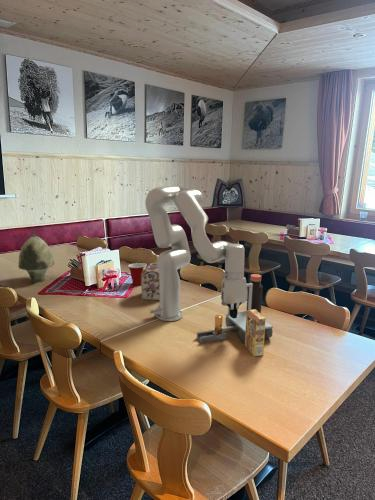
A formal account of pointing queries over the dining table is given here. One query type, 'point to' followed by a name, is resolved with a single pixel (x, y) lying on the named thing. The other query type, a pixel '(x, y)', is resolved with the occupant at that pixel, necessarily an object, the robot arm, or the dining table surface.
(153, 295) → the decorative jar
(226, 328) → the stop pin
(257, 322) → the candy box
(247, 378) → the dining table surface
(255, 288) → the bottle
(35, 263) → the potted topiary
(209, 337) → the pin rail
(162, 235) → the robot arm
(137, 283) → the plastic cup
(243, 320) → the trolley
